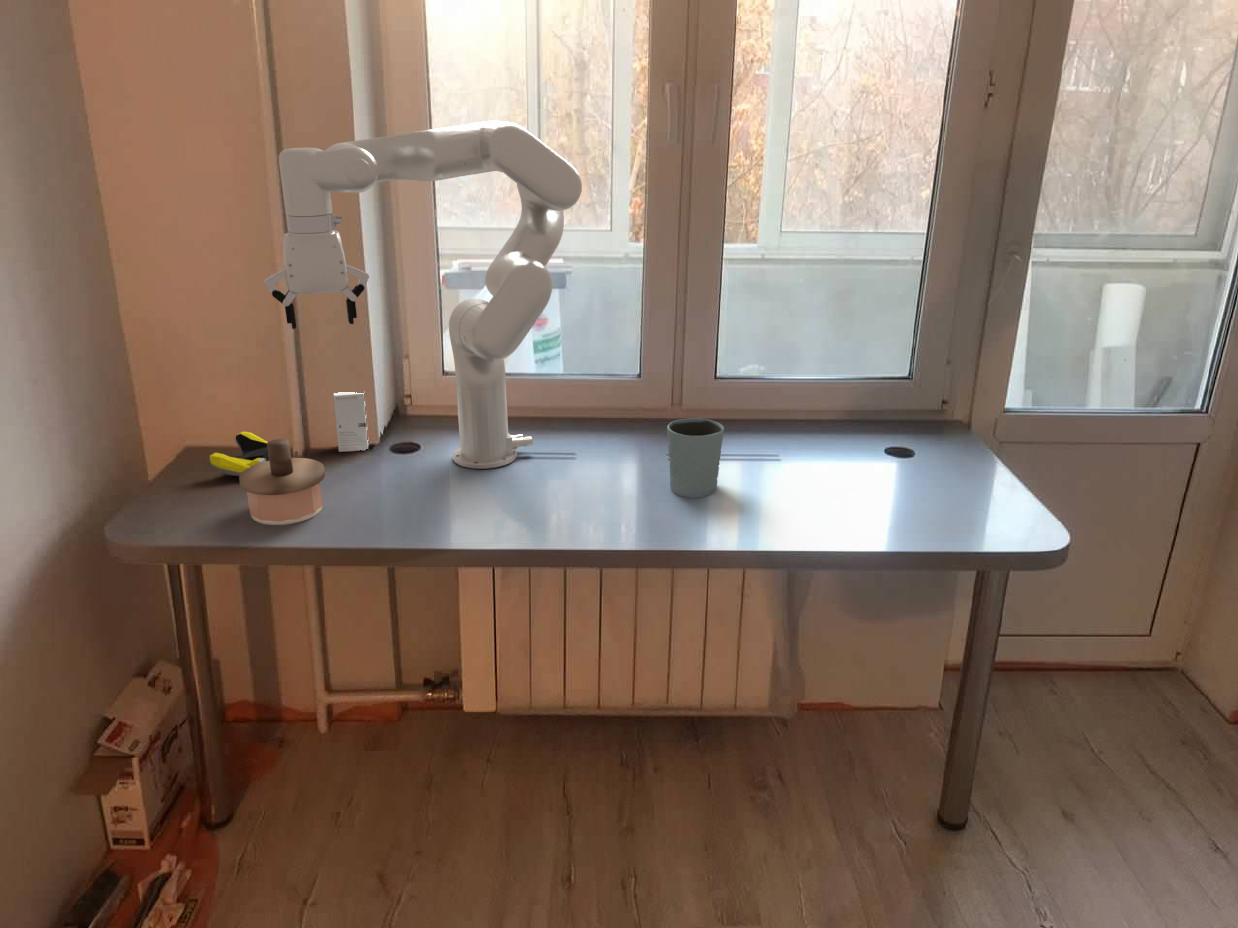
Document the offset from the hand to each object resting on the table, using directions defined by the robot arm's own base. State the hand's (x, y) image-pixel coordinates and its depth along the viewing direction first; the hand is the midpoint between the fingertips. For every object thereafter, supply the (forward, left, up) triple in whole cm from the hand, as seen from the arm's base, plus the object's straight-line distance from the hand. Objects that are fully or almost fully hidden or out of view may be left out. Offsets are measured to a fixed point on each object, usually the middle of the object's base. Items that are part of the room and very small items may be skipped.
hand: (322, 324), depth 169 cm
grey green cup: (-61, +24, -31) cm, 72 cm away
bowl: (+10, +9, -30) cm, 33 cm away
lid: (+10, +9, -24) cm, 28 cm away
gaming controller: (+16, -14, -31) cm, 37 cm away
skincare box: (-4, -19, -31) cm, 36 cm away
